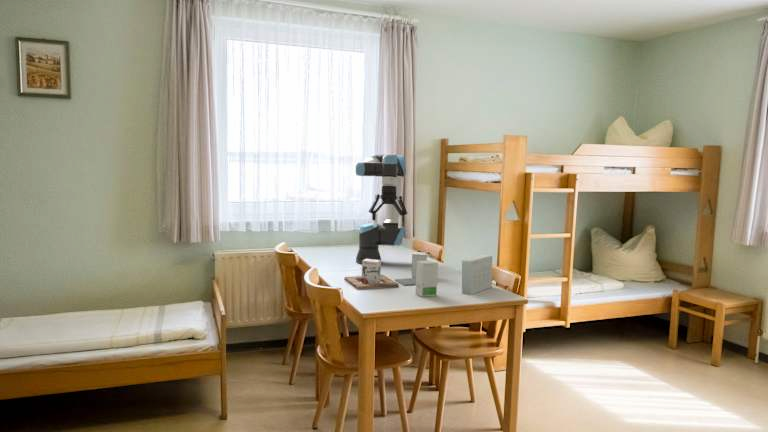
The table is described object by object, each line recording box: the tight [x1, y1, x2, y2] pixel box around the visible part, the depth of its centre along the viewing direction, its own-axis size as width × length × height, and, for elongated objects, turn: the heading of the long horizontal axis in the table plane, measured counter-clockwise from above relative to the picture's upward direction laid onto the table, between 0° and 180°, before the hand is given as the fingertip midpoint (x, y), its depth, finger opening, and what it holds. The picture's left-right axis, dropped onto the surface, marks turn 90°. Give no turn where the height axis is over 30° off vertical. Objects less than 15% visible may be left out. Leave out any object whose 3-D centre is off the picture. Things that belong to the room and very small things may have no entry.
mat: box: [394, 277, 416, 287], centre depth 272 cm, size 12×12×1 cm
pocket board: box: [344, 274, 399, 291], centre depth 267 cm, size 21×21×2 cm
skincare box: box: [415, 260, 439, 298], centre depth 247 cm, size 8×7×16 cm
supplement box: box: [410, 251, 428, 278], centre depth 285 cm, size 7×7×13 cm
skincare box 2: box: [461, 254, 493, 296], centre depth 259 cm, size 21×6×16 cm, turn 141°
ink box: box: [361, 259, 382, 284], centre depth 267 cm, size 9×5×12 cm, turn 70°
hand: (387, 227), depth 272 cm, fingers open, 13 cm apart
